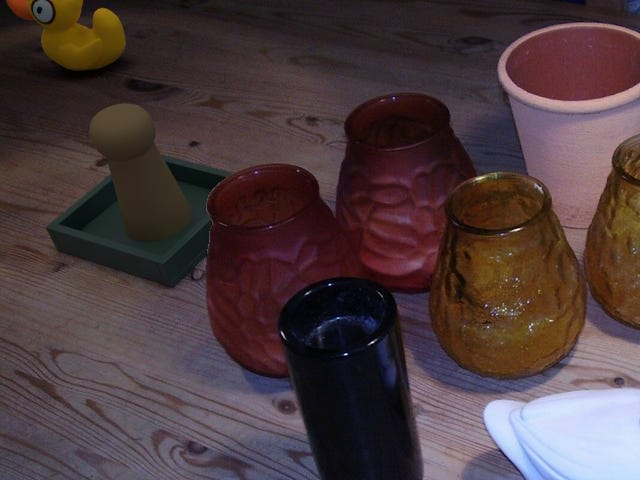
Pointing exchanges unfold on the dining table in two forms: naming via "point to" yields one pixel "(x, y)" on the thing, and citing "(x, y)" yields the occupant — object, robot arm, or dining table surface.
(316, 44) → the dining table surface
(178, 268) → the tray
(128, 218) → the brown piece
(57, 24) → the duckling
